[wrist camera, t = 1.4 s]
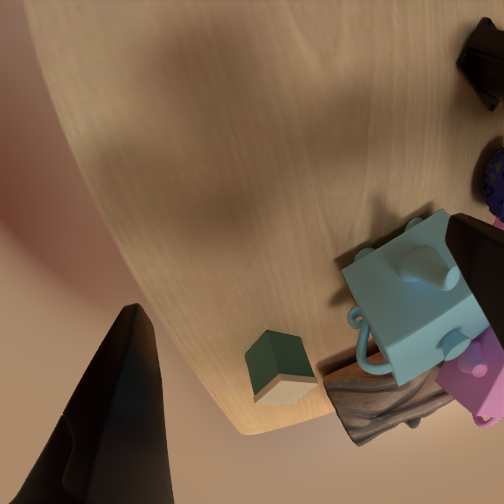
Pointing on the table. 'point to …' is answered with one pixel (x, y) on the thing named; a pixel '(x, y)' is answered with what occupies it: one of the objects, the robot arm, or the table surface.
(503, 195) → the ball
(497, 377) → the teapot
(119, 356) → the robot arm
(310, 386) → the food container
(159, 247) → the table surface
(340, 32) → the table surface
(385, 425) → the sculpture
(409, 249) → the teapot
